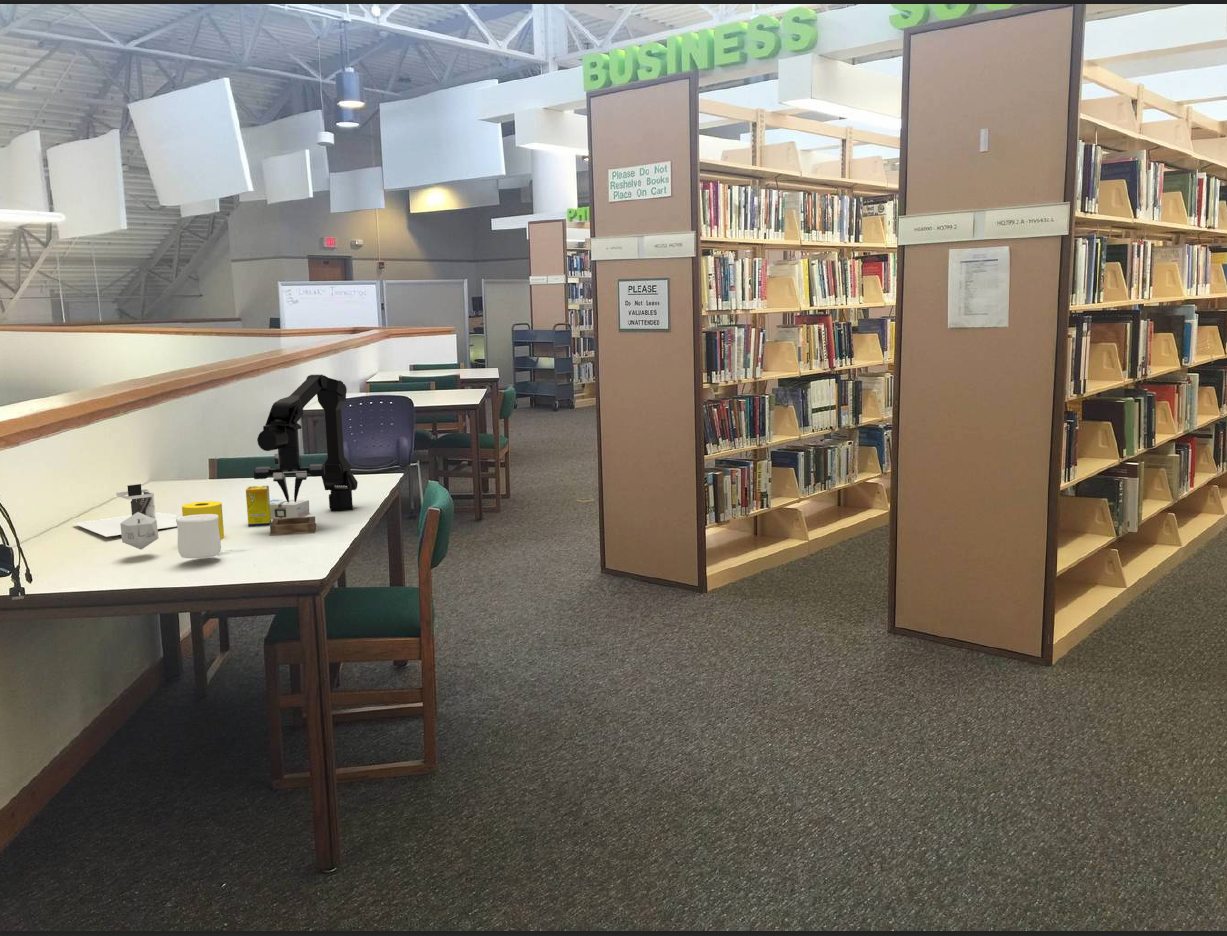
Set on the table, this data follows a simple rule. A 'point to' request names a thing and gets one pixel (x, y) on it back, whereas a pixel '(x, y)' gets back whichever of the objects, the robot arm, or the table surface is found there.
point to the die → (139, 530)
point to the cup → (198, 536)
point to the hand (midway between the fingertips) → (291, 501)
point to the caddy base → (293, 525)
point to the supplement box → (258, 506)
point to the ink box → (289, 508)
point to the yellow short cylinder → (205, 511)
